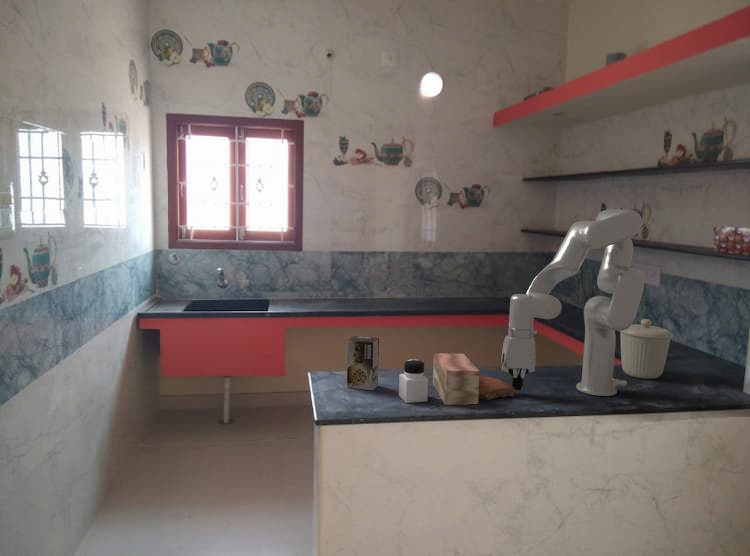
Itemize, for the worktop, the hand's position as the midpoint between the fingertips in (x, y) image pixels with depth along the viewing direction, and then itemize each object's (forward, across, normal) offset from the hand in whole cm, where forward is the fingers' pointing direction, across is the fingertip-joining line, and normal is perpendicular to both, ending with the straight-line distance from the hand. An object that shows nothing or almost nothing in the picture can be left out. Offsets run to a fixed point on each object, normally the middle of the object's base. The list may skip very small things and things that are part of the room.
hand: (516, 388), depth 184 cm
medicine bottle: (+2, +34, +5) cm, 35 cm away
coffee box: (+2, +49, -7) cm, 50 cm away
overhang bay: (+2, +20, 0) cm, 21 cm away
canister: (+2, -55, -23) cm, 59 cm away
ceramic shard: (+2, +10, -1) cm, 11 cm away
